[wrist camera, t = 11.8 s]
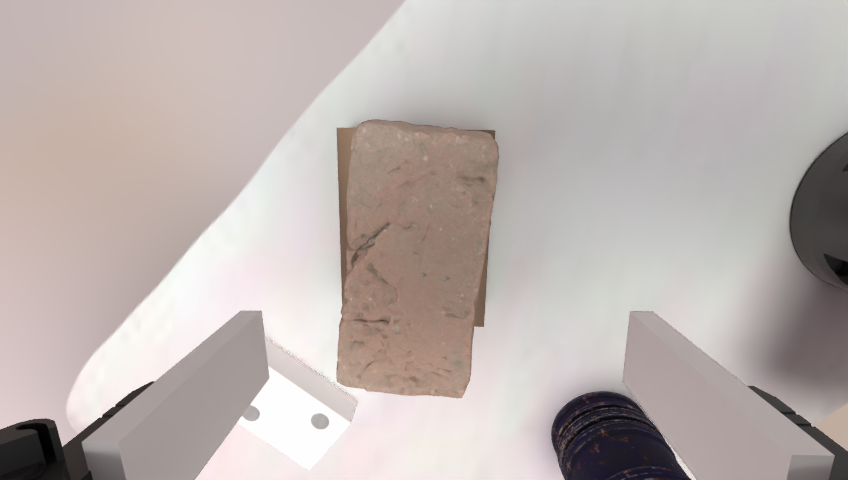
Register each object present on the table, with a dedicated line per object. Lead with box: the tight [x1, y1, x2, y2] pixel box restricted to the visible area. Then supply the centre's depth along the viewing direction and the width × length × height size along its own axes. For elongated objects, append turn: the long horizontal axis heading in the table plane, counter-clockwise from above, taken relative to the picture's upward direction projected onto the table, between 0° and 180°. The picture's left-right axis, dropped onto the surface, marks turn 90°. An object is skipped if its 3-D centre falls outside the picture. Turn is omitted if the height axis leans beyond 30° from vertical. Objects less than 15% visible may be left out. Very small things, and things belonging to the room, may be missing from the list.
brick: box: [337, 120, 499, 398], centre depth 25 cm, size 16×8×5 cm, turn 174°
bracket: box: [237, 337, 358, 471], centre depth 38 cm, size 13×7×8 cm, turn 52°
